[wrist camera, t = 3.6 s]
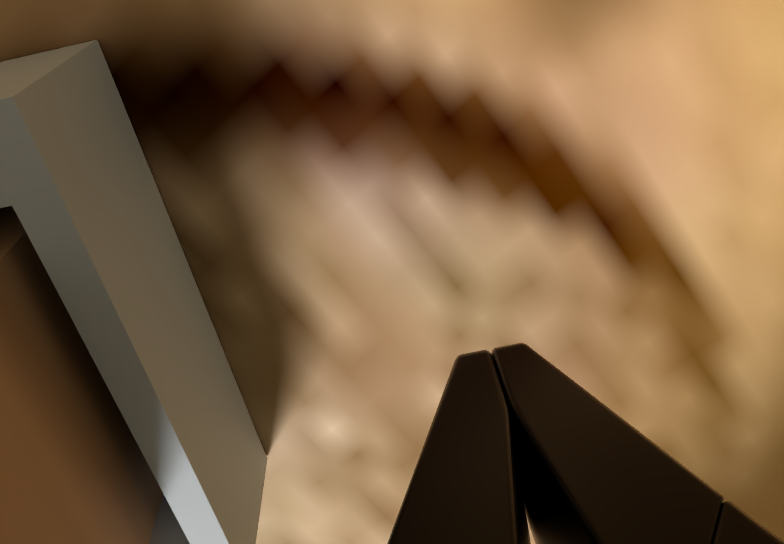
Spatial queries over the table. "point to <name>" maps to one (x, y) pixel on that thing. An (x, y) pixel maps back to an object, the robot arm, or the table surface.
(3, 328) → the walnut block
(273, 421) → the table surface
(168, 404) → the chute
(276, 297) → the table surface
